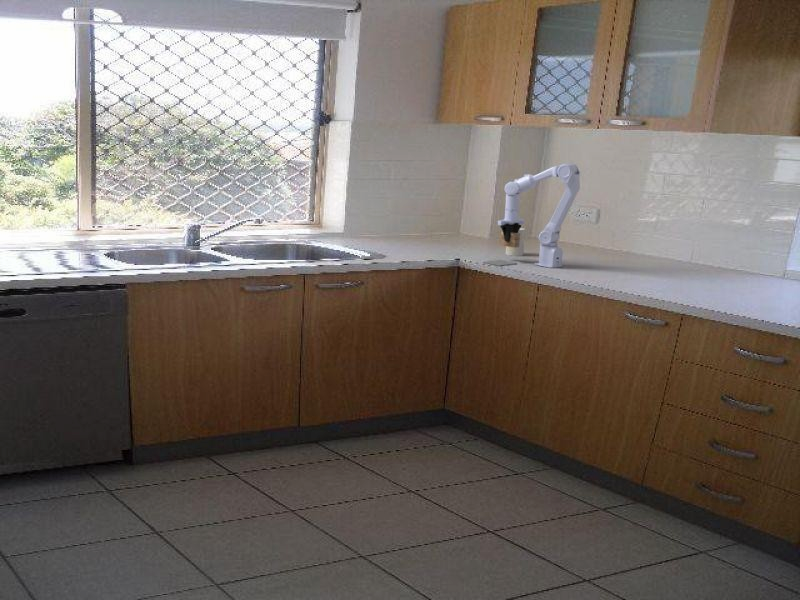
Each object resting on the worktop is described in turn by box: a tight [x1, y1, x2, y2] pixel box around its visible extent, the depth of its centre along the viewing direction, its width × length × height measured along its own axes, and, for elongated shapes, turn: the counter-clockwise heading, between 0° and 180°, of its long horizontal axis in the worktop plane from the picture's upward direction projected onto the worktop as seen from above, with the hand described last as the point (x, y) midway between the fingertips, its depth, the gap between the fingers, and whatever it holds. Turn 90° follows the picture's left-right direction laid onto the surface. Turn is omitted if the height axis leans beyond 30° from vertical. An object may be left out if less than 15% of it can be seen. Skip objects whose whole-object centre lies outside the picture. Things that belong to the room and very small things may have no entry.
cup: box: [505, 227, 526, 257], centre depth 388 cm, size 8×8×12 cm
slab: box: [498, 230, 520, 248], centre depth 368 cm, size 9×3×6 cm, turn 39°
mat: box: [481, 259, 518, 267], centre depth 363 cm, size 10×11×1 cm
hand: (509, 241), depth 368 cm, fingers closed on slab, 3 cm apart
